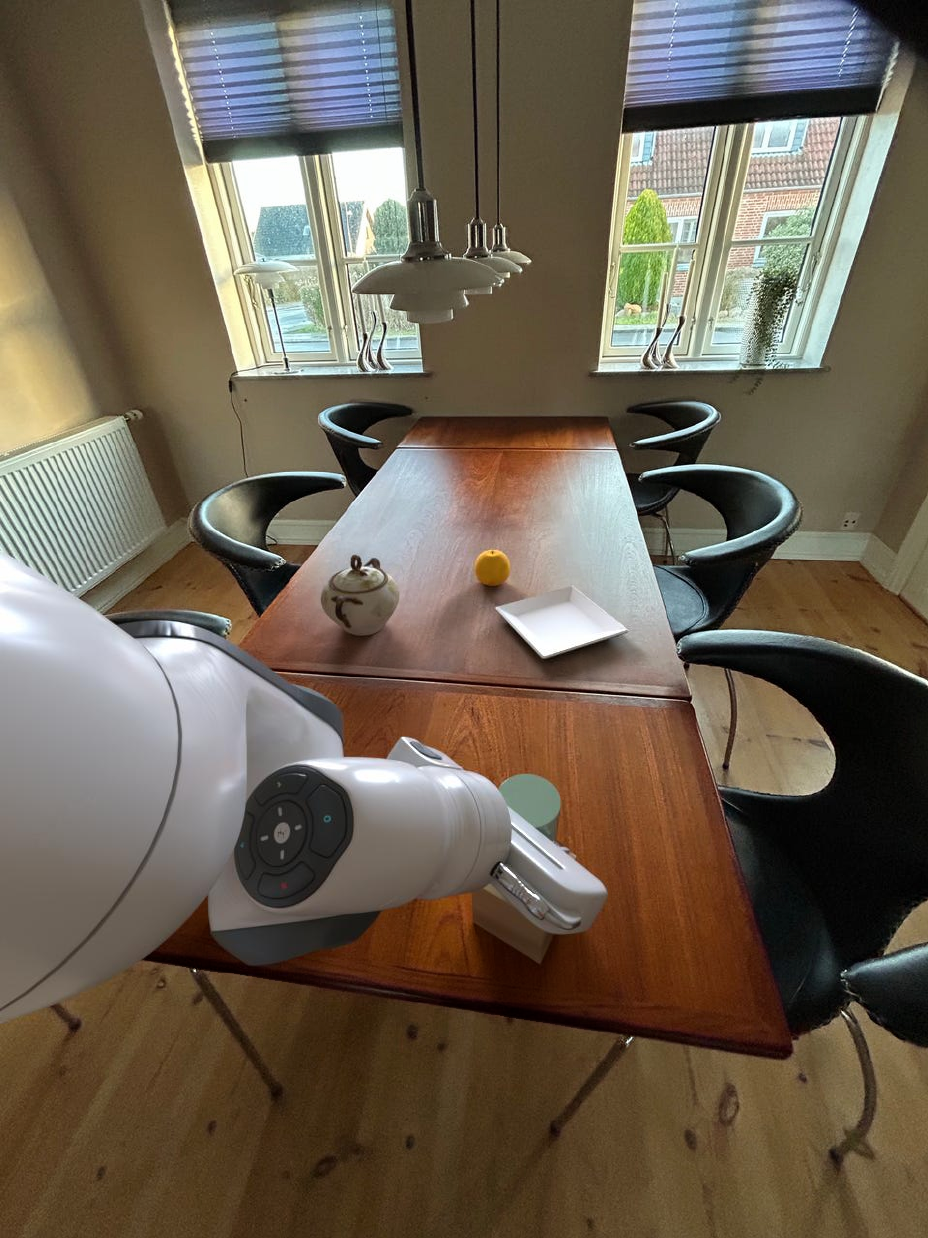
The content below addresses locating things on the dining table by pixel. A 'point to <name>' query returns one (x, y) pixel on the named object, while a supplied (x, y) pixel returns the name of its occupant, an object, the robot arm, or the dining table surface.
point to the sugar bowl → (360, 597)
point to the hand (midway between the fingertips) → (530, 828)
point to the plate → (560, 621)
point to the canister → (534, 802)
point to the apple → (492, 568)
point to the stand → (509, 922)
